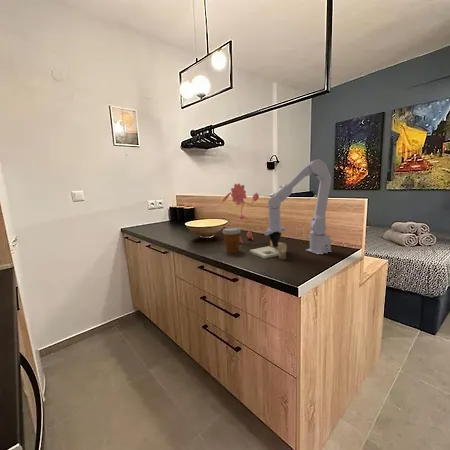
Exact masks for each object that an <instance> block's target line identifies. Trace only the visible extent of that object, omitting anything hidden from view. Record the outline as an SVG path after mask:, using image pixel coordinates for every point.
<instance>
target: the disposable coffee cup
mask: <svg viewBox="0 0 450 450" xmlns="http://www.w3.org/2000/svg"><path fill="white" fill-rule="evenodd" d="M241 231H242V230H241V229H240V227H239V228H238V226H237V227H236V226H234V227H232V226H231V227H225V228H223V230H222V234H223V239H224V243H225V250H226V252H227V253H233V254H234V253H237V252H239V248H240V237H241V235H240V234H241Z"/></svg>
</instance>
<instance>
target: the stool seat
mask: <svg viewBox="0 0 450 450" xmlns="http://www.w3.org/2000/svg"><path fill="white" fill-rule="evenodd" d="M249 253H250V254H253V255H255V256H257V257H260V258H261V259H268V258H273V257H279V250H278V249H275V248H273V247H270V245H268V246H263V247H257V248H253V249H249Z"/></svg>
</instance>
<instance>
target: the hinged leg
mask: <svg viewBox="0 0 450 450" xmlns="http://www.w3.org/2000/svg"><path fill="white" fill-rule="evenodd" d="M279 243H281V242H280V241H278V245H277V247H273V244H272V241H271V240H269V246H270V247H273V248H275V249H278V250H279ZM287 248H288V246H287V244H286V253H287V251H288V250H287Z"/></svg>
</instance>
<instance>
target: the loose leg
mask: <svg viewBox="0 0 450 450" xmlns="http://www.w3.org/2000/svg"><path fill="white" fill-rule="evenodd" d="M278 259H279V260H286V259H287V252H286V243H285V242H280V243H279V255H278Z"/></svg>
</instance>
